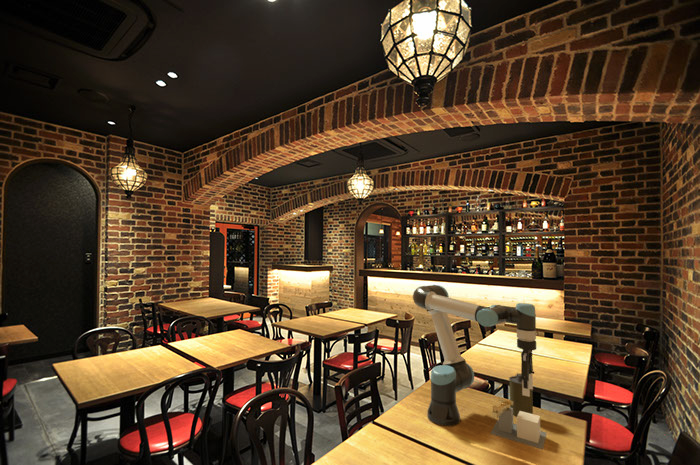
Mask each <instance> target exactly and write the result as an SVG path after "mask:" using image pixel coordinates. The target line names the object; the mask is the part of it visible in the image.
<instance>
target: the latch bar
mask: <svg viewBox="0 0 700 465" xmlns="http://www.w3.org/2000/svg"><path fill="white" fill-rule="evenodd" d="M497 401H498V402H501V404H499V405H498V406H496V405H493V406H492V411H491V417H492V418H495V419H499V416H500V415H501V414H502V413H503V412H505V411H506V410H507V409H510V404H511V405H513V401H510V399H506V398H504V397H499V396H498V398H497Z"/></svg>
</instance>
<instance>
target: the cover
mask: <svg viewBox="0 0 700 465" xmlns="http://www.w3.org/2000/svg"><path fill="white" fill-rule="evenodd" d="M516 424H517V437H519V438H522V439H526V440H529V441H532V442H536V443H538V442H539V439H540V431H541V416H540V415H537V414H534V413H533V414H530V413H526V412H522V411H519V413H518V416H517V417H516Z"/></svg>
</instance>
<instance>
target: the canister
mask: <svg viewBox="0 0 700 465" xmlns="http://www.w3.org/2000/svg"><path fill="white" fill-rule="evenodd" d="M520 378H521V373H516V375H515V376H514V375H513V376H509V378H508V380H509V400H510V401H513V405H511V404H510V408H513V417H515V418H517V416H518V413H519V411H522V412H526V413H530V414H534V406H533V403H534V402H533V390H532V389H530V397H528V396H524V395H522V380H521V379H520Z"/></svg>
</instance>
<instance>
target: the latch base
mask: <svg viewBox="0 0 700 465" xmlns="http://www.w3.org/2000/svg"><path fill="white" fill-rule="evenodd" d="M496 420H497V421H496V422H495V424H494V426H493V428H492V429H491V431H490V435H495V436H497V437H500V438H504V439H508V440H511V441H514V442H516V443H520V444H524V445H527V446H530V447H533V448H537V449H540V450H543V449H544V446H545V443H546V442H545V441H546V437H547V434H548V433H547V432H546V431H542V430H540V439H539V442H538V443H536V442H532V441H529V440H526V439H522V438H519V437H517V423H514V415H513V408H510V409H507V410H506V411H505V412H503V413H502V414H501V415H500V416H499V417H498V418H497V419H496Z"/></svg>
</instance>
